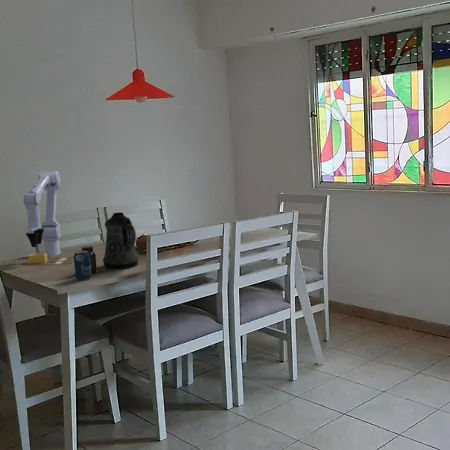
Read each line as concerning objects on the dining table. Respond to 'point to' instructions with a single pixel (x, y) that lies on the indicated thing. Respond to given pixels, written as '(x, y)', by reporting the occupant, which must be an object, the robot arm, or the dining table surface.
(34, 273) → the dining table surface
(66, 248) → the dining table surface
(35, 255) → the block
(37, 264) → the board
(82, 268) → the soda can
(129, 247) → the beer stein
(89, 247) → the supplement bottle
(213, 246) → the dining table surface
